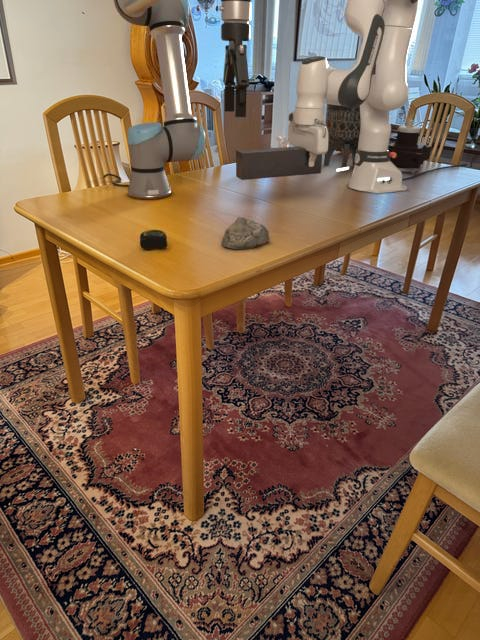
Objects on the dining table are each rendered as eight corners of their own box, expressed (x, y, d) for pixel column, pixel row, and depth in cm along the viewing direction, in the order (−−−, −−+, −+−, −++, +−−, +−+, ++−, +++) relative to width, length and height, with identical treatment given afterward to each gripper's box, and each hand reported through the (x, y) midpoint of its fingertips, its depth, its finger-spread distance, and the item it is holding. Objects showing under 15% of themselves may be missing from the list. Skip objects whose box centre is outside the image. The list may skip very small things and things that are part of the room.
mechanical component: (377, 119, 195) (405, 114, 215) (369, 169, 206) (397, 160, 225) (427, 124, 183) (452, 118, 203) (415, 177, 194) (441, 167, 213)
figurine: (292, 163, 215) (294, 134, 209) (276, 168, 204) (278, 138, 198) (278, 161, 219) (279, 133, 212) (261, 166, 208) (262, 136, 202)
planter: (313, 167, 208) (319, 103, 195) (331, 160, 222) (338, 101, 209) (353, 173, 199) (362, 107, 185) (369, 166, 213) (379, 104, 199)
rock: (255, 233, 128) (256, 211, 124) (276, 242, 122) (278, 219, 119) (217, 244, 120) (217, 220, 117) (239, 254, 115) (239, 230, 111)
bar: (313, 170, 151) (315, 145, 147) (320, 173, 147) (323, 147, 143) (235, 176, 142) (236, 150, 138) (241, 180, 138) (241, 153, 134)
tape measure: (140, 252, 115) (139, 238, 113) (141, 242, 120) (140, 229, 119) (167, 251, 116) (166, 237, 114) (167, 241, 121) (166, 228, 120)
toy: (334, 147, 234) (333, 142, 247) (337, 160, 237) (336, 154, 250) (356, 140, 231) (354, 135, 243) (359, 153, 234) (356, 147, 246)
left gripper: (212, 24, 125) (213, 109, 135) (232, 19, 104) (231, 119, 115) (238, 25, 126) (237, 109, 137) (263, 20, 106) (259, 119, 116)
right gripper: (335, 121, 132) (330, 170, 139) (302, 113, 148) (299, 157, 155) (316, 122, 130) (312, 171, 137) (285, 114, 146) (283, 158, 153)
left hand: (234, 114), depth 126 cm, fingers open, 13 cm apart
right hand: (305, 164), depth 146 cm, fingers closed on bar, 5 cm apart
